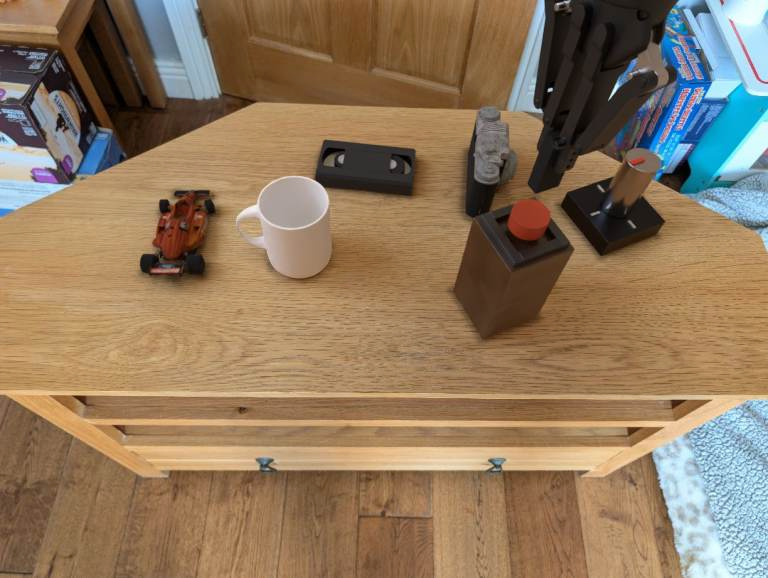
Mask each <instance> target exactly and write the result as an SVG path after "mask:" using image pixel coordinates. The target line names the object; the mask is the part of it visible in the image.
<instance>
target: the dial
mask: <svg viewBox="0 0 768 578" xmlns="http://www.w3.org/2000/svg"><path fill="white" fill-rule="evenodd" d="M661 165H662V161H661V159H660V158H659V156H658V155H657V154H656V153H655V152H653V151H651V150H649V149H647V148H643V147H635V148H632V149H629V150H628V152H627V153H626V154H625V157H624V158H623V160H622V162H621V164H620V165H619V167H618V169H617V171H616V173H615V174H614V175H613V176H614V178H613V180H612V181H611V183H610V185H609V187H608V189H607V190H606V192H605V194H604V196H603V198H602V199H601V207H602V209H603V210H604V212H606V213H607V214H608V215H610V216H612V217H615V218H624V217H627V216H629V215H630V214H631V212H632V210H633V209H634V207H635V206H636V204H637V203H638V201H639V200H640V198H641V196H644V195H643V194H645V192H646V190H647V188H648V187H649V185H650V184H651V182H652V181H653V179H654V178H655V176H656V175H657V173H658V171H659V170H660V168H661V167H662V166H661Z"/></svg>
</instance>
